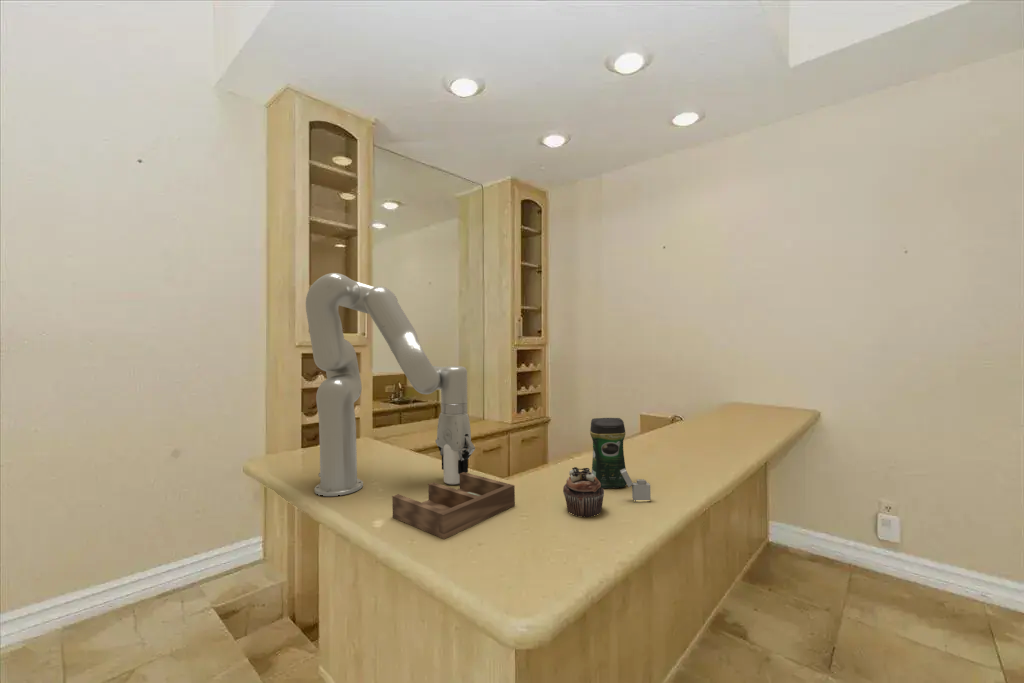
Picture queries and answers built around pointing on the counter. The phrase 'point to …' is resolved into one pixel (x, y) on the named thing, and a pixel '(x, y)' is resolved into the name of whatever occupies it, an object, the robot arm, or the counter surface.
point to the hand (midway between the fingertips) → (454, 470)
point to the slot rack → (455, 505)
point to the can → (451, 465)
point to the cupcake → (583, 493)
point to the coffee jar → (608, 451)
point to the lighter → (637, 487)
